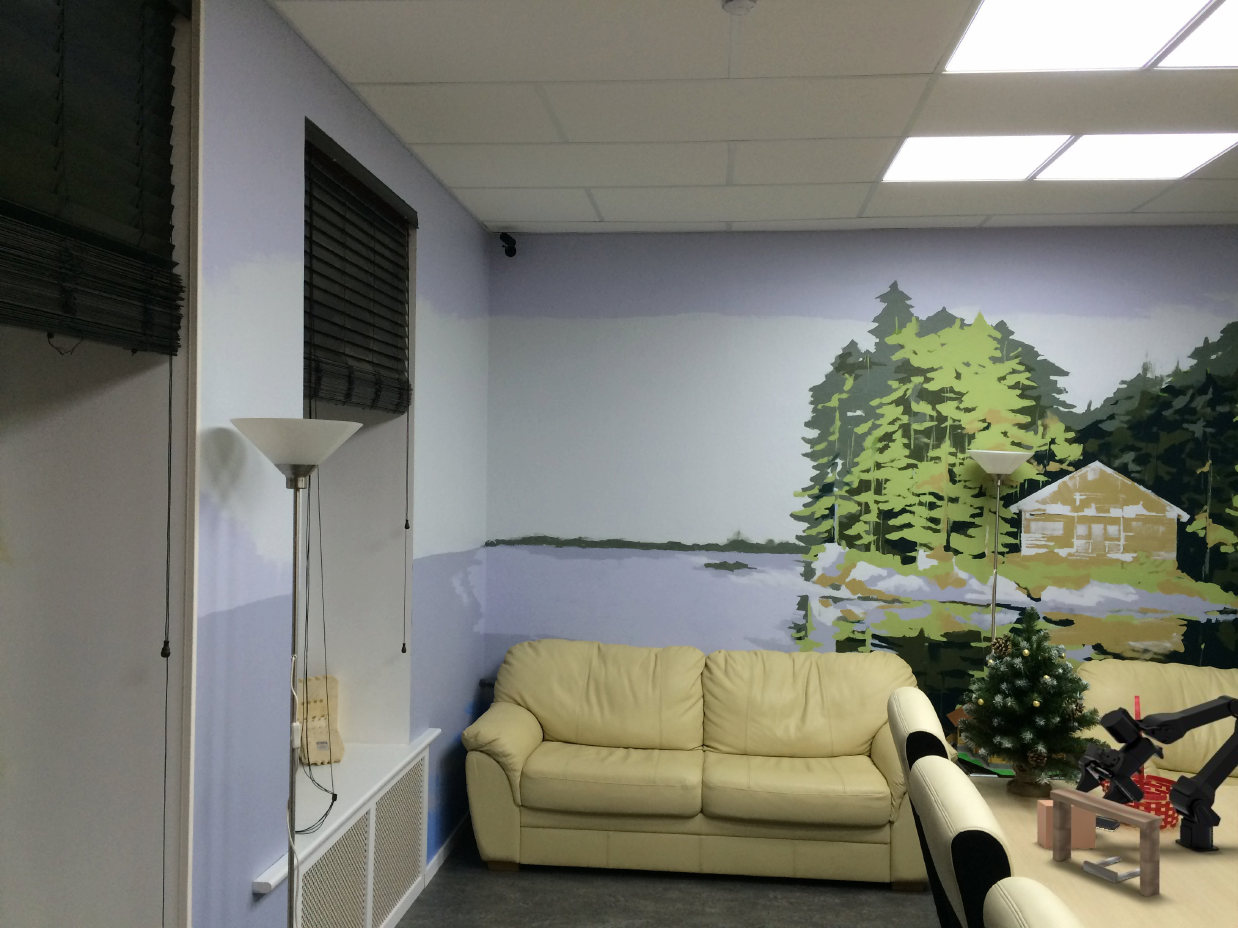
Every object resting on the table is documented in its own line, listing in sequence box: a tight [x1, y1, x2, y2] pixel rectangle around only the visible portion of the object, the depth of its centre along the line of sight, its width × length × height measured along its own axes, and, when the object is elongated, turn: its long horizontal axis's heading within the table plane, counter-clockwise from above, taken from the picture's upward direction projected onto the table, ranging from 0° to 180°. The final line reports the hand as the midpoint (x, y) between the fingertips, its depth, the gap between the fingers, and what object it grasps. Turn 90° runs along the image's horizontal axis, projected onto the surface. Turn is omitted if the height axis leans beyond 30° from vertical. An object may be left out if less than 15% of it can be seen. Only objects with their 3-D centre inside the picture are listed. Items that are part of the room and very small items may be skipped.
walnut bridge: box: [1049, 786, 1163, 898], centre depth 197 cm, size 14×22×16 cm, turn 29°
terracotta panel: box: [1036, 799, 1097, 850], centre depth 212 cm, size 12×4×10 cm, turn 92°
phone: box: [1096, 814, 1122, 831], centre depth 229 cm, size 8×1×15 cm
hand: (1085, 802), depth 212 cm, fingers open, 9 cm apart
